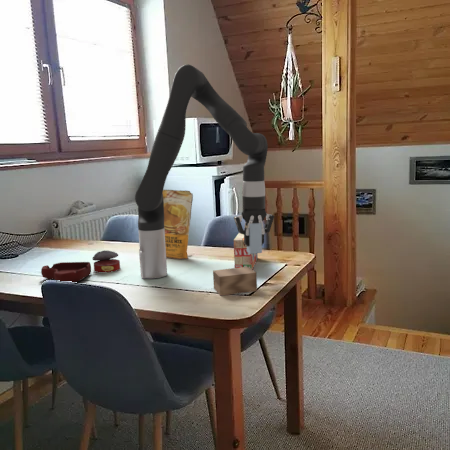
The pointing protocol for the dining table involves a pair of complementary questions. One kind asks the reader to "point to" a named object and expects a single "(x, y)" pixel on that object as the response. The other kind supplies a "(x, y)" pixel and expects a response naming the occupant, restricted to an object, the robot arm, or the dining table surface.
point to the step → (235, 280)
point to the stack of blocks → (243, 253)
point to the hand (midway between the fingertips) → (254, 245)
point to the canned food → (106, 261)
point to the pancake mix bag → (177, 222)
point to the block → (255, 238)
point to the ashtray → (67, 271)
